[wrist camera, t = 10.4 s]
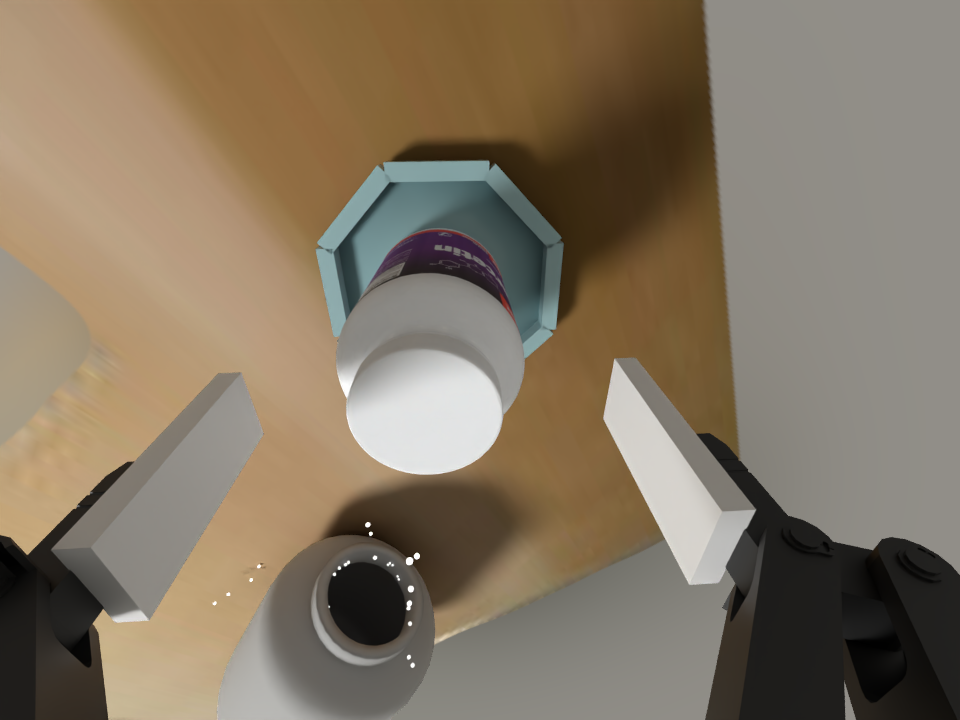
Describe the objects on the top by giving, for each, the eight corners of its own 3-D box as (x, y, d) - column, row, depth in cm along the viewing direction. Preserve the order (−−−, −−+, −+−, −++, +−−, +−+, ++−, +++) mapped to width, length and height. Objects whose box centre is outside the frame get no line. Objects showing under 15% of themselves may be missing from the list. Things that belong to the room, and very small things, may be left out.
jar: (164, 620, 36) (277, 497, 25) (309, 544, 49) (428, 438, 37) (245, 853, 31) (435, 834, 20) (384, 701, 44) (549, 635, 32)
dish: (309, 161, 23) (297, 163, 22) (562, 158, 24) (571, 159, 22) (351, 379, 31) (345, 393, 29) (545, 372, 31) (550, 385, 30)
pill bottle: (525, 290, 27) (586, 421, 14) (439, 360, 29) (428, 527, 17) (442, 194, 24) (428, 256, 11) (353, 282, 26) (259, 415, 14)
